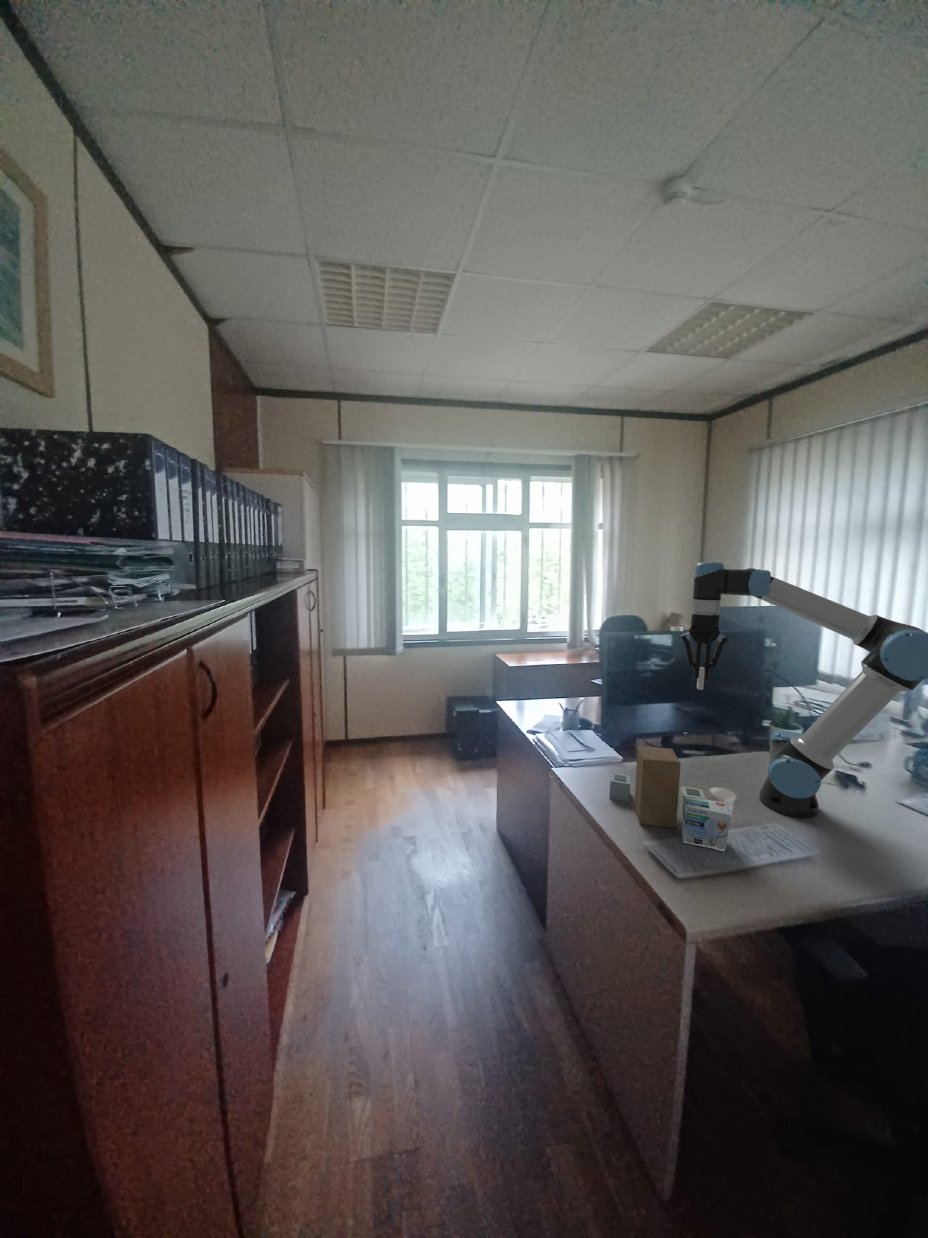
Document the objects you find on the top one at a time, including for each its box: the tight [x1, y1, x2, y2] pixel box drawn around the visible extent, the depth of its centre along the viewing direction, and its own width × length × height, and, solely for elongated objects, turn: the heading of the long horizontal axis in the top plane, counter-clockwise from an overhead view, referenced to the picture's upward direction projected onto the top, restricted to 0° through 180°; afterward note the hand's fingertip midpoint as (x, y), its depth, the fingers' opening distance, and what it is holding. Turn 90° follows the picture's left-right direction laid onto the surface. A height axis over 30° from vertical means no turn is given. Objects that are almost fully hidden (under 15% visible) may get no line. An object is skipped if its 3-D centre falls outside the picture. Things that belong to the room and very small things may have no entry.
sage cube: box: [679, 785, 706, 815], centre depth 140 cm, size 6×6×6 cm
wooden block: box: [633, 745, 681, 829], centre depth 136 cm, size 10×10×20 cm
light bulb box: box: [681, 796, 730, 850], centre depth 125 cm, size 11×7×11 cm, turn 68°
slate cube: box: [609, 772, 631, 802], centre depth 149 cm, size 6×6×6 cm
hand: (700, 688), depth 143 cm, fingers closed
